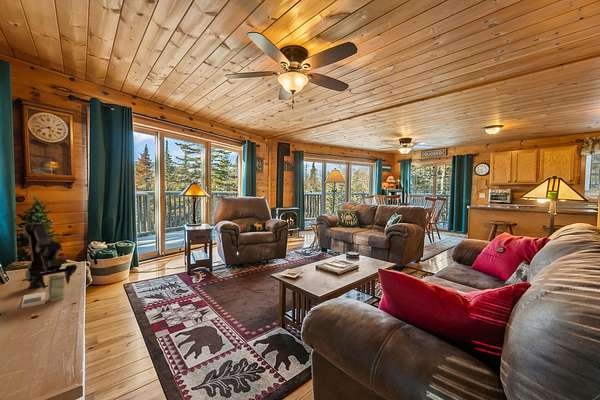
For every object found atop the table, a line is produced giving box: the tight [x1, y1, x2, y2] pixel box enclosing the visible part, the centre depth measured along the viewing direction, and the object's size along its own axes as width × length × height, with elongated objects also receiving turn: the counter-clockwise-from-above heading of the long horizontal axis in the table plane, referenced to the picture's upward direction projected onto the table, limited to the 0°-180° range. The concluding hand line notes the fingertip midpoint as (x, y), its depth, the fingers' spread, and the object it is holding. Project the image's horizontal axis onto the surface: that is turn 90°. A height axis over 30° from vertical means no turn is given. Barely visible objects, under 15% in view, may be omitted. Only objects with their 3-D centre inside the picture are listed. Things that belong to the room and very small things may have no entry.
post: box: [48, 273, 65, 303], centre depth 131 cm, size 4×4×12 cm
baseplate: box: [20, 291, 47, 309], centre depth 128 cm, size 16×8×1 cm, turn 45°
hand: (56, 285), depth 130 cm, fingers open, 9 cm apart
